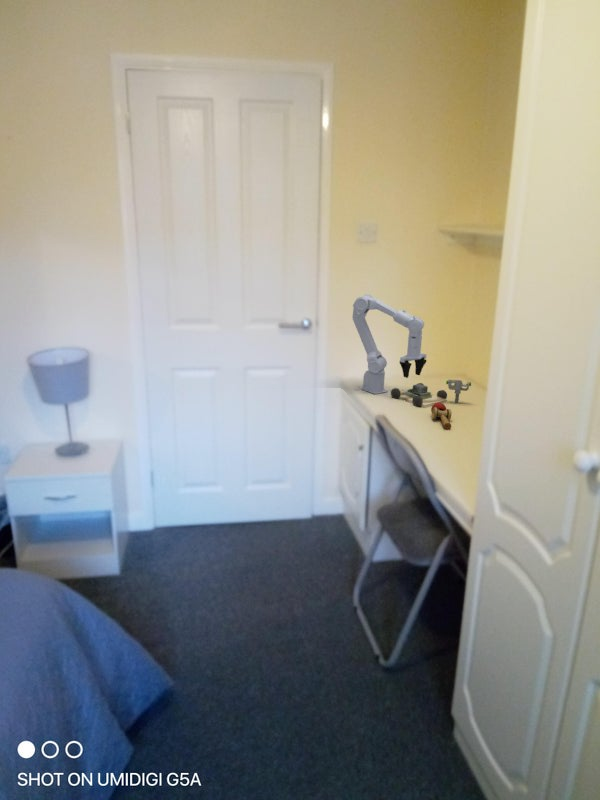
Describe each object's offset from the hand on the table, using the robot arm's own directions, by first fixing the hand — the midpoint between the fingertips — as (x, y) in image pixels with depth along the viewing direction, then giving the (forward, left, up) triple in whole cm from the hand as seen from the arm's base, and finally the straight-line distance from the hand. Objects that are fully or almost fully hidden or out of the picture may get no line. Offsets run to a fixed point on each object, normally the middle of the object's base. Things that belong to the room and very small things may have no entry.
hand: (411, 375), depth 264 cm
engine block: (+5, 0, -8) cm, 10 cm away
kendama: (+31, -14, -10) cm, 35 cm away
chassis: (+5, 0, -9) cm, 11 cm away
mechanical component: (+18, +10, -10) cm, 23 cm away
